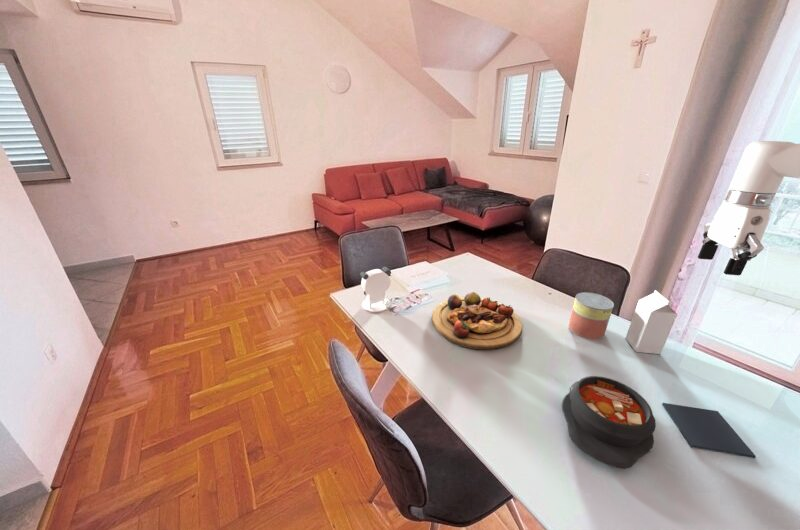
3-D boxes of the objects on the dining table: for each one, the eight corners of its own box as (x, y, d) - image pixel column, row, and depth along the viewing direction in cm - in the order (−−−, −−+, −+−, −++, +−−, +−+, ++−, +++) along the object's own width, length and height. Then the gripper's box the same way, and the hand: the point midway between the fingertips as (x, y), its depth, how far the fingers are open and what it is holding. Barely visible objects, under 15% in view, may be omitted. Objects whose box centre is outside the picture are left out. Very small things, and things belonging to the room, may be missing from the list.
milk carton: (635, 352, 99) (655, 300, 91) (624, 338, 105) (642, 288, 98) (660, 354, 98) (682, 302, 90) (648, 340, 104) (667, 290, 96)
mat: (716, 412, 78) (717, 410, 78) (755, 458, 67) (756, 456, 67) (661, 404, 80) (662, 402, 80) (690, 446, 70) (691, 445, 69)
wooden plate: (483, 366, 93) (486, 343, 90) (413, 319, 116) (413, 300, 113) (539, 326, 112) (543, 306, 108) (469, 293, 134) (471, 275, 131)
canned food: (607, 343, 103) (617, 312, 98) (569, 335, 107) (577, 305, 102) (601, 324, 113) (610, 295, 108) (566, 318, 117) (573, 289, 112)
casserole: (571, 377, 89) (578, 353, 86) (652, 410, 79) (664, 385, 75) (547, 441, 71) (555, 414, 68) (649, 495, 61) (663, 466, 57)
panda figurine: (383, 294, 133) (382, 262, 127) (396, 306, 124) (396, 272, 118) (357, 301, 128) (355, 268, 122) (369, 315, 119) (367, 279, 113)
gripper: (803, 208, 64) (763, 283, 70) (739, 192, 79) (711, 254, 86) (759, 206, 65) (724, 279, 72) (704, 191, 80) (680, 252, 87)
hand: (717, 266), depth 79 cm, fingers open, 9 cm apart
